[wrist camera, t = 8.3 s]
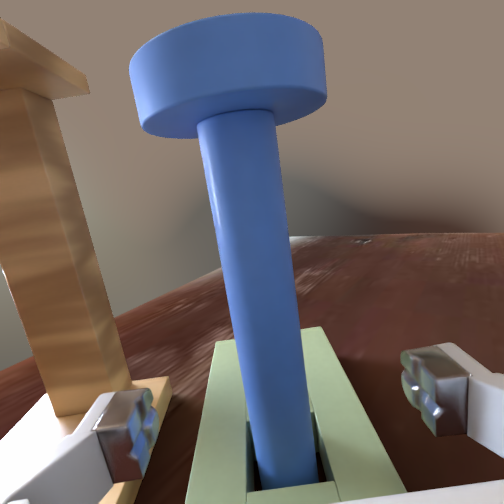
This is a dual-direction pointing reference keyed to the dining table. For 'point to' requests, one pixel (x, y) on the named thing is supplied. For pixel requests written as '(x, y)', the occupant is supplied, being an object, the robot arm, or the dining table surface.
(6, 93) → the stand
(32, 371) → the dining table surface
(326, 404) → the holder
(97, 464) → the robot arm
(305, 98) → the peg
